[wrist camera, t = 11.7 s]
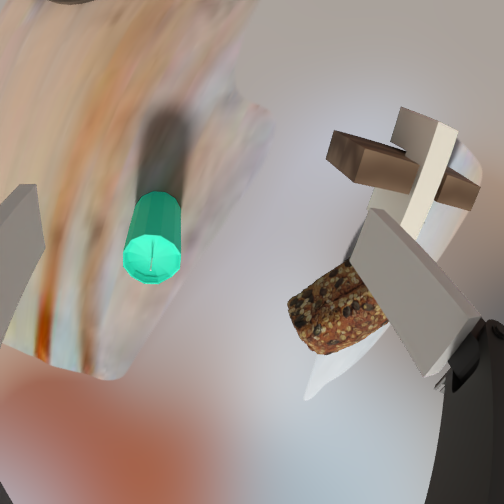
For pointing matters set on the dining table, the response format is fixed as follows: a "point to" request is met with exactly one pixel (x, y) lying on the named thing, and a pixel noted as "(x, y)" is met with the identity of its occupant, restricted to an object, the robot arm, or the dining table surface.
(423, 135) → the cream bar
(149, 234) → the candle
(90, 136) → the dining table surface
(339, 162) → the walnut rail
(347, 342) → the bread
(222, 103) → the dining table surface
